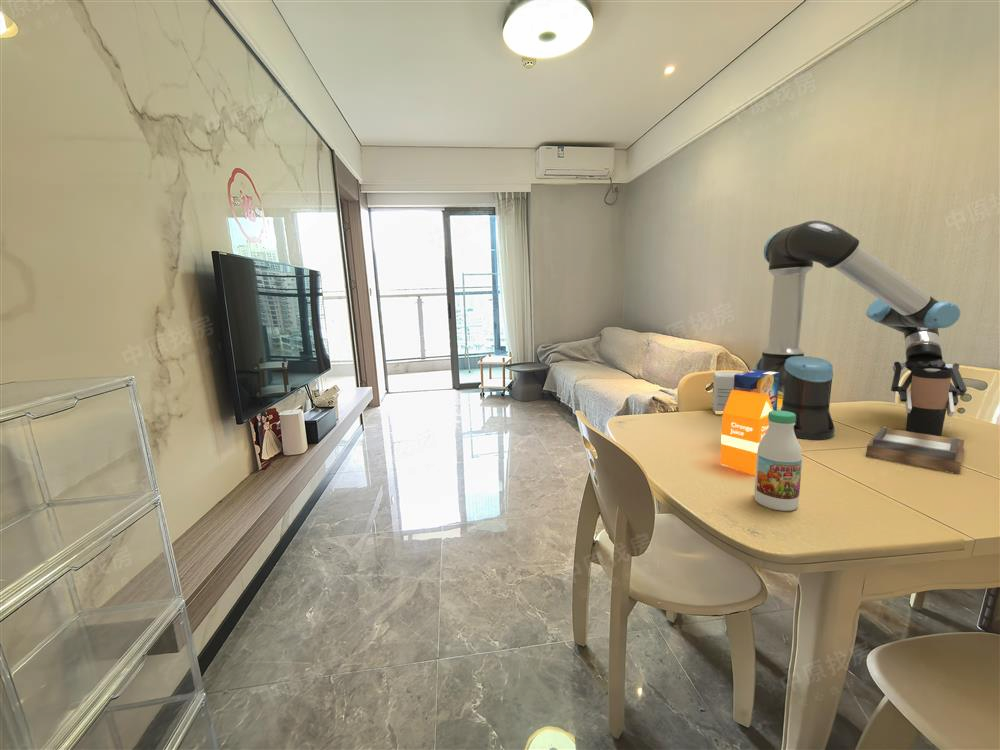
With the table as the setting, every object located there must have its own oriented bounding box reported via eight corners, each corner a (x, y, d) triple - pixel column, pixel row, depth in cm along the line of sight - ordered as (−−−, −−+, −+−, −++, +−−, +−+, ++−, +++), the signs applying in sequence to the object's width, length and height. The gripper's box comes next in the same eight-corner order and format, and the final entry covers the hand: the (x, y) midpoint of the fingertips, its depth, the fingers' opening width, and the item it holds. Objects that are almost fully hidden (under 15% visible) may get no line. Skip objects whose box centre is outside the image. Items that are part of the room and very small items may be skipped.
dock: (865, 456, 102) (868, 438, 101) (880, 434, 116) (882, 418, 115) (959, 474, 90) (962, 453, 89) (963, 447, 104) (966, 429, 103)
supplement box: (711, 408, 153) (713, 371, 150) (738, 410, 149) (740, 372, 146) (714, 415, 144) (715, 376, 142) (742, 416, 141) (744, 376, 138)
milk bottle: (745, 495, 86) (750, 409, 82) (778, 492, 86) (784, 406, 83) (772, 513, 78) (779, 419, 75) (808, 510, 79) (816, 416, 75)
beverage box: (774, 446, 112) (779, 372, 109) (756, 455, 107) (761, 377, 103) (749, 440, 118) (753, 369, 114) (730, 448, 112) (734, 374, 108)
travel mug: (924, 429, 118) (933, 365, 115) (950, 438, 111) (961, 369, 107) (897, 430, 119) (905, 366, 116) (921, 438, 112) (930, 370, 108)
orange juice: (755, 476, 95) (760, 397, 91) (719, 465, 102) (723, 391, 99) (771, 467, 99) (776, 392, 95) (735, 457, 106) (739, 387, 103)
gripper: (968, 358, 117) (979, 423, 107) (875, 356, 129) (877, 414, 120) (977, 342, 112) (990, 409, 102) (879, 342, 124) (882, 401, 115)
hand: (929, 412), depth 111 cm, fingers closed on travel mug, 8 cm apart
